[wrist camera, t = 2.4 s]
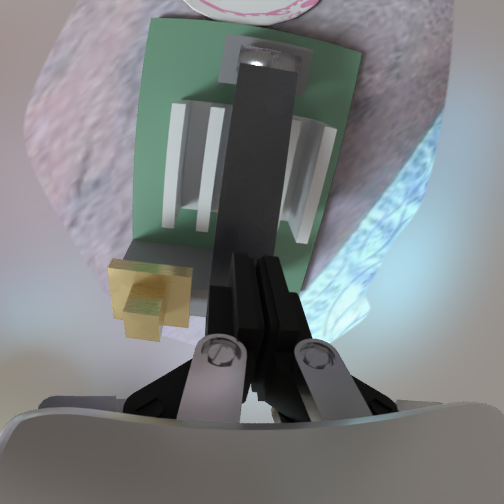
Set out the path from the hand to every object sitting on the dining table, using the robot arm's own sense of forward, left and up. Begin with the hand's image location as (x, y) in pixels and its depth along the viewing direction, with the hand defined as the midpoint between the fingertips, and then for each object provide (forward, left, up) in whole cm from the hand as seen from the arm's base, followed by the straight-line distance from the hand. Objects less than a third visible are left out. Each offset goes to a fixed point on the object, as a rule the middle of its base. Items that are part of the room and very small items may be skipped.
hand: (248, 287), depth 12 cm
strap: (-2, 0, -6) cm, 7 cm away
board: (0, 0, -14) cm, 14 cm away
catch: (+6, -5, -6) cm, 10 cm away
